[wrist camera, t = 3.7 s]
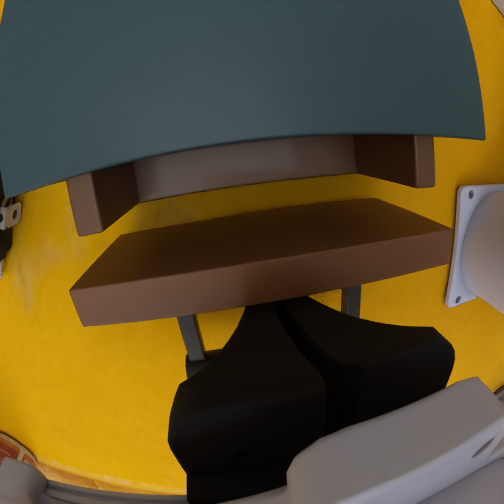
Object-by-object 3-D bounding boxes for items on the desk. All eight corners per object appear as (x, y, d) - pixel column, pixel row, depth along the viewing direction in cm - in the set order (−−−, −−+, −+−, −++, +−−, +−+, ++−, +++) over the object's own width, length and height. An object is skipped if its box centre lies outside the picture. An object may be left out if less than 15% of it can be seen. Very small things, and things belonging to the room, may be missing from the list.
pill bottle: (-15, 432, 17) (-44, 501, 7) (1, 425, 17) (-33, 506, 6) (25, 465, 19) (5, 534, 9) (47, 462, 19) (25, 543, 8)
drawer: (371, 310, 15) (425, 372, 10) (154, 348, 14) (137, 430, 9) (338, -37, 8) (387, -90, 3) (96, -16, 8) (53, -71, 3)
